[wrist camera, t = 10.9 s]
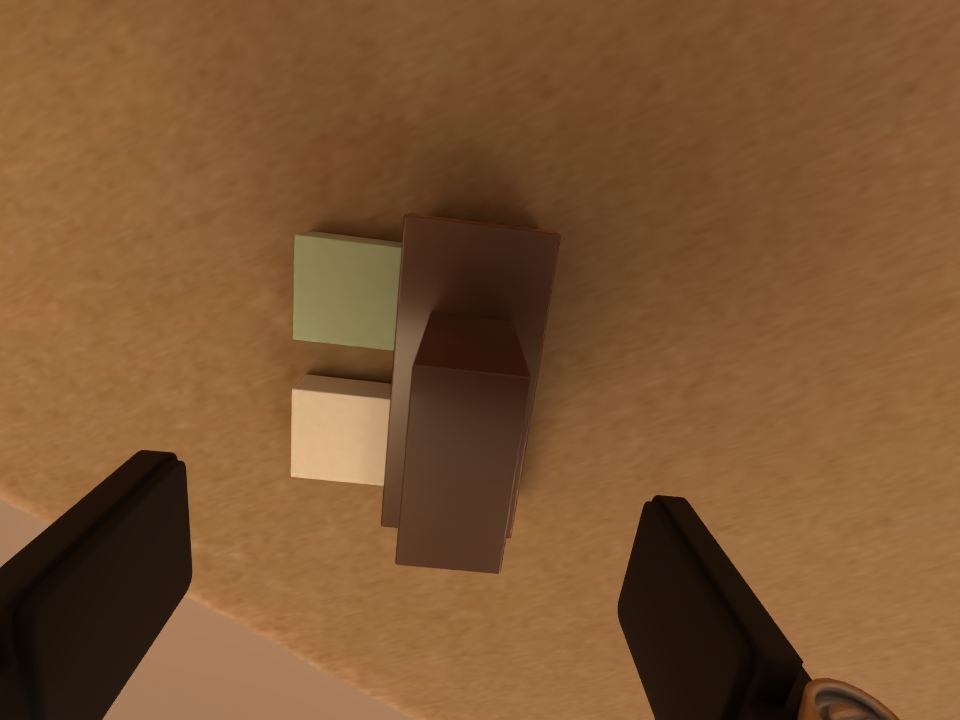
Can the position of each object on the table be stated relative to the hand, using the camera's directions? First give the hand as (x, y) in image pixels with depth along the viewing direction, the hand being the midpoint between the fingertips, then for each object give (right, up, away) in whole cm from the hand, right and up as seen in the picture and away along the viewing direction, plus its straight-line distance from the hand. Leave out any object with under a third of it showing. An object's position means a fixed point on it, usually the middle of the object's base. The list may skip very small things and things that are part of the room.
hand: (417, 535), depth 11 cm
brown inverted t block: (+1, +3, +12) cm, 12 cm away
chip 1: (-4, +7, +11) cm, 13 cm away
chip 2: (-5, +1, +12) cm, 13 cm away
